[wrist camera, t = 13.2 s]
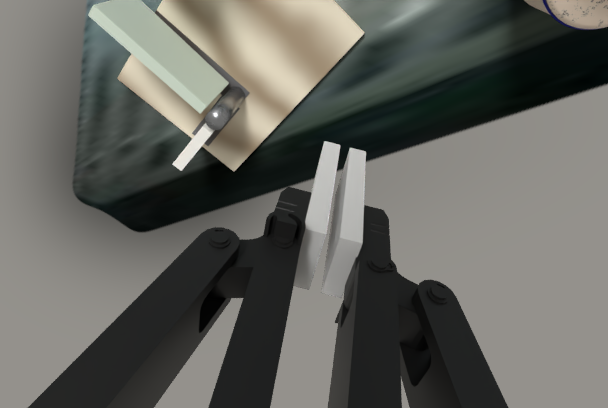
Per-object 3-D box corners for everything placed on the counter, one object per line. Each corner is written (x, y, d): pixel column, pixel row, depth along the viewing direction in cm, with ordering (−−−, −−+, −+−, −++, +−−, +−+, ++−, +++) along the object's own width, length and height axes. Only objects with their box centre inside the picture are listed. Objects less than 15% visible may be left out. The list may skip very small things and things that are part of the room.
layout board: (228, -112, 36) (226, -112, 36) (364, 32, 41) (364, 33, 41) (119, 77, 48) (116, 78, 48) (235, 170, 53) (233, 172, 53)
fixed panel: (224, 101, 47) (202, 126, 41) (232, 107, 47) (212, 133, 41) (196, 136, 50) (172, 164, 44) (204, 142, 51) (181, 170, 44)
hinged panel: (129, 3, 42) (88, 15, 36) (134, -6, 42) (93, 5, 36) (223, 90, 46) (200, 114, 40) (229, 83, 46) (206, 106, 40)
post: (235, 82, 46) (211, 107, 39) (248, 94, 46) (227, 121, 40) (225, 94, 47) (201, 121, 40) (238, 106, 47) (216, 133, 41)
